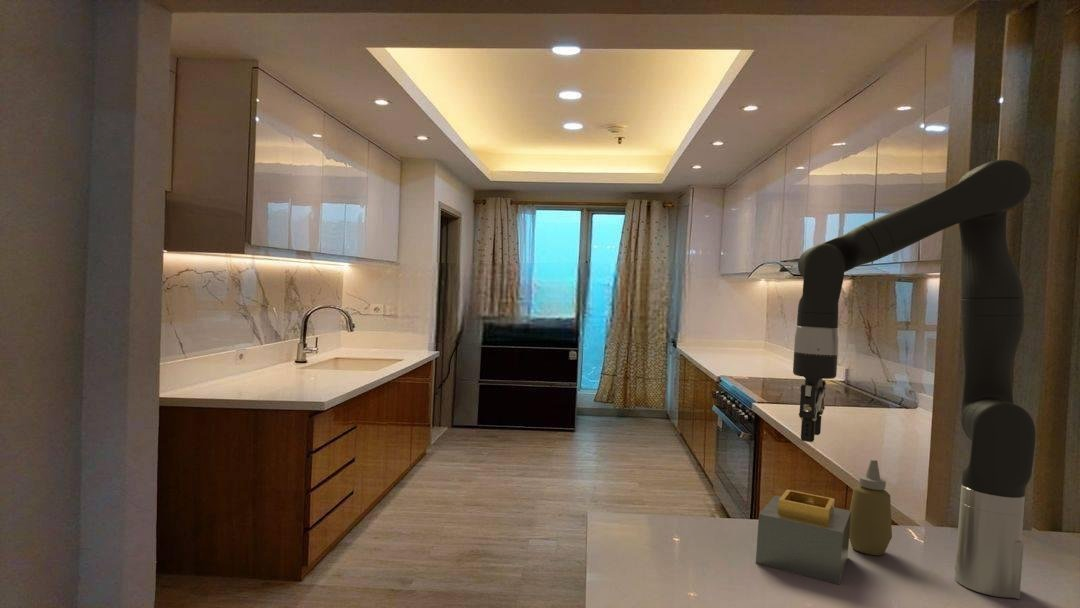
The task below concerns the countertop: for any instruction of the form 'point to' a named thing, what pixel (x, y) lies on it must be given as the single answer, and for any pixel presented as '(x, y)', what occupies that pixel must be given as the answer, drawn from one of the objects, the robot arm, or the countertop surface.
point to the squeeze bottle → (870, 514)
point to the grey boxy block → (804, 536)
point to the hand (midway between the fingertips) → (810, 437)
